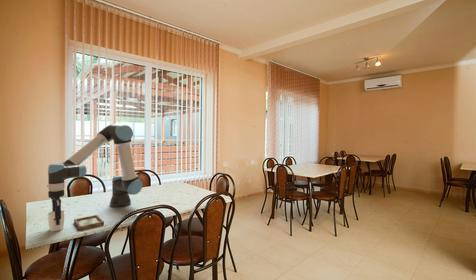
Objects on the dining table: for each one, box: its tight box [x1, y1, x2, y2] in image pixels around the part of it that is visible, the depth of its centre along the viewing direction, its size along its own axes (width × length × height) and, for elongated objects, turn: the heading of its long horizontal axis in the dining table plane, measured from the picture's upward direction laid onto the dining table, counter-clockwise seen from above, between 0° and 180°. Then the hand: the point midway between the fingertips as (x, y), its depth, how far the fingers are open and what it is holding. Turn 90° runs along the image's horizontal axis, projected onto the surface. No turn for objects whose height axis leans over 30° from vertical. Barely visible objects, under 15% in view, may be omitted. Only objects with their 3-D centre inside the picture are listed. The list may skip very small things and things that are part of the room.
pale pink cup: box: [47, 209, 66, 232], centre depth 142 cm, size 8×8×10 cm
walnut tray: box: [73, 214, 105, 231], centre depth 151 cm, size 13×16×2 cm
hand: (56, 227), depth 142 cm, fingers closed on pale pink cup, 8 cm apart
